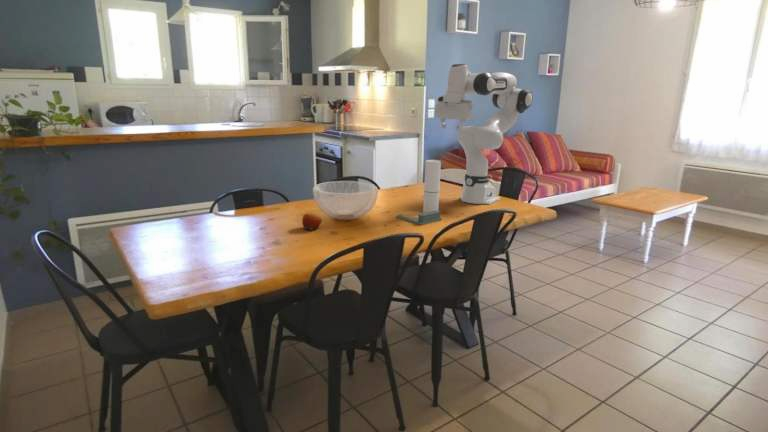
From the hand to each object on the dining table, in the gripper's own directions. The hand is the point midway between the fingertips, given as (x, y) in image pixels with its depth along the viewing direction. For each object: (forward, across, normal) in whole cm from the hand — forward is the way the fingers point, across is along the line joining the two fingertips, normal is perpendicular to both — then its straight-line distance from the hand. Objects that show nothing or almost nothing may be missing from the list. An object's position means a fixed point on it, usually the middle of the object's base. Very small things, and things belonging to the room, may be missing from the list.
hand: (451, 129), depth 219 cm
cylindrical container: (+40, -2, +10) cm, 41 cm away
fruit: (+46, +12, +68) cm, 83 cm away
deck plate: (+41, -5, +21) cm, 47 cm away
